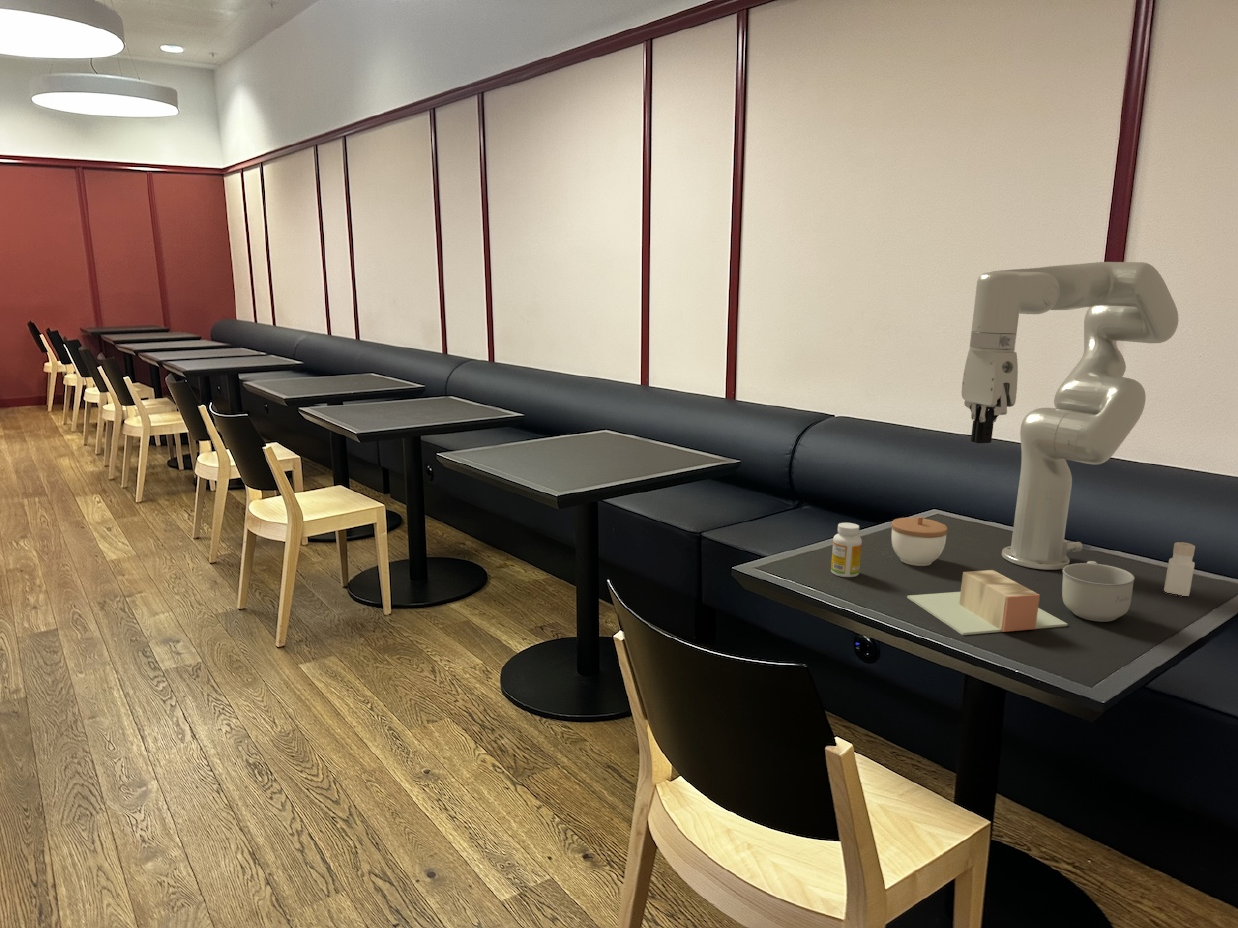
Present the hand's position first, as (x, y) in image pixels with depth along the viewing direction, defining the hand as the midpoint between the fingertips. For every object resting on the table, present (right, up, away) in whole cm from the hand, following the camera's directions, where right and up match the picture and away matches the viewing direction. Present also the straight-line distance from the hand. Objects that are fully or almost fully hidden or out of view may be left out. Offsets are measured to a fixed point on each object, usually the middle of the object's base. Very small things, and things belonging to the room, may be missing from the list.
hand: (980, 442), depth 159 cm
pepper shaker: (+37, -28, +2) cm, 47 cm away
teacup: (+16, -30, -8) cm, 35 cm away
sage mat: (-3, -30, -9) cm, 31 cm away
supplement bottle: (-23, -25, +9) cm, 35 cm away
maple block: (-1, -28, -18) cm, 34 cm away
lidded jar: (-6, -24, +17) cm, 30 cm away
